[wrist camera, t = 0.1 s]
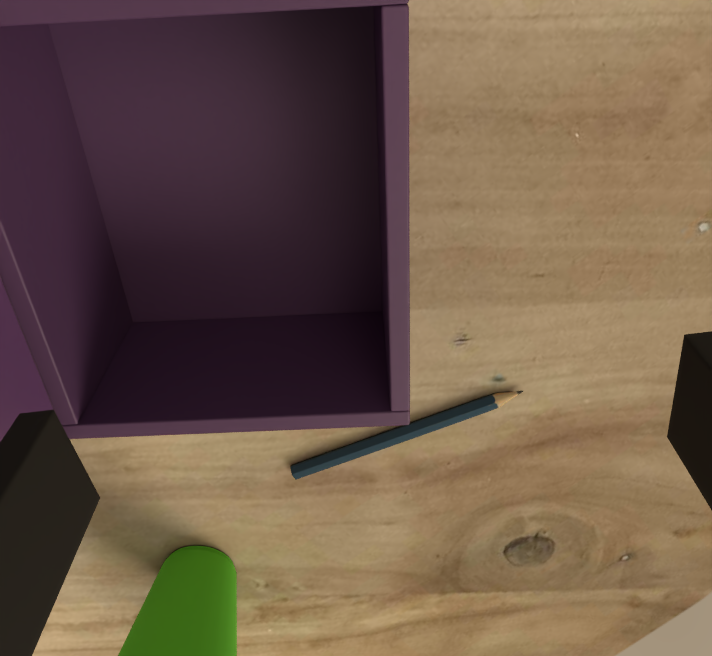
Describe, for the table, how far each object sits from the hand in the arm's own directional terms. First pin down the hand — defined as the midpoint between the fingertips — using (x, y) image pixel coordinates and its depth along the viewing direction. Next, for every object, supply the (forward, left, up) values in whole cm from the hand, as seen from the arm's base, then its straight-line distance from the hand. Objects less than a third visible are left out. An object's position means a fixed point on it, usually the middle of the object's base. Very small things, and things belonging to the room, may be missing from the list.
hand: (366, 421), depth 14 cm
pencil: (+15, -8, -19) cm, 26 cm away
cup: (+17, -27, -19) cm, 37 cm away
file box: (-3, -5, -18) cm, 19 cm away
